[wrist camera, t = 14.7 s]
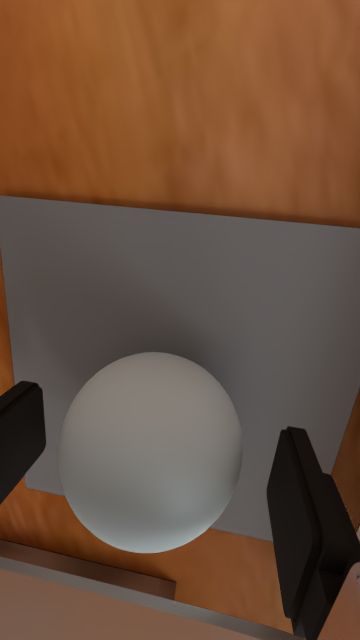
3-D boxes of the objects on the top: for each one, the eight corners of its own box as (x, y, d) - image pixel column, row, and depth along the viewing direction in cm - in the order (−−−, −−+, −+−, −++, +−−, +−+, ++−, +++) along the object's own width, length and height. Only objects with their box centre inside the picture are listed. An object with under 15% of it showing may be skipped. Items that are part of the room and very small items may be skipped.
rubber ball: (250, 339, 12) (273, 450, 6) (228, 459, 14) (228, 632, 8) (105, 319, 13) (-3, 399, 7) (104, 436, 15) (20, 577, 9)
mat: (403, 232, 10) (411, 232, 10) (303, 539, 16) (305, 549, 15) (3, 196, 12) (-6, 195, 12) (31, 480, 17) (25, 487, 17)
